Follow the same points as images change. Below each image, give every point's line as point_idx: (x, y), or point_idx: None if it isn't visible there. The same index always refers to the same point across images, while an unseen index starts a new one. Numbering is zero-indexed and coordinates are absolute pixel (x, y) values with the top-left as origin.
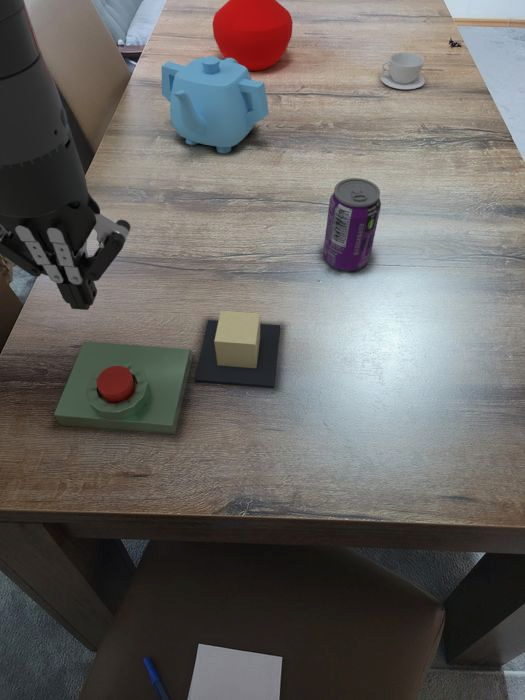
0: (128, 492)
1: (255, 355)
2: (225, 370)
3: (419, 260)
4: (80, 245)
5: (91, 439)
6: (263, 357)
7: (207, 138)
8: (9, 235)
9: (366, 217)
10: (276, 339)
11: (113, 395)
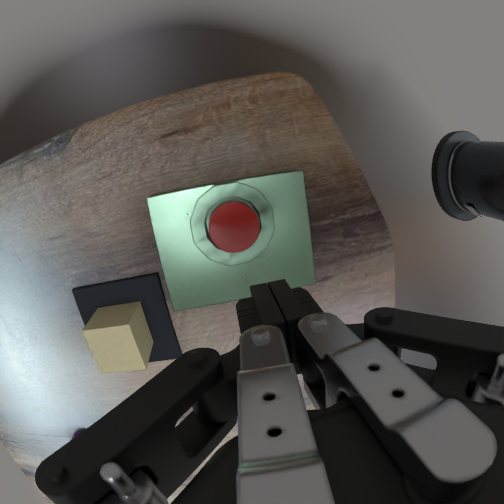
0: (175, 112)
1: (90, 319)
2: (128, 296)
3: (45, 440)
4: (207, 463)
5: (248, 160)
6: None
7: None
8: (479, 387)
9: None
10: None
11: (224, 204)
